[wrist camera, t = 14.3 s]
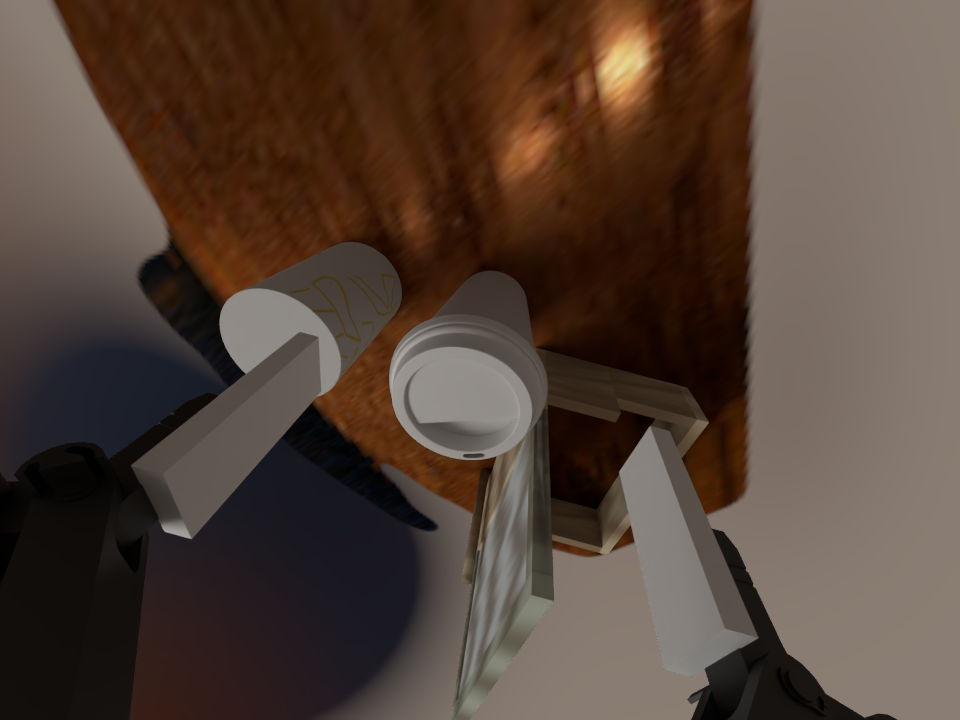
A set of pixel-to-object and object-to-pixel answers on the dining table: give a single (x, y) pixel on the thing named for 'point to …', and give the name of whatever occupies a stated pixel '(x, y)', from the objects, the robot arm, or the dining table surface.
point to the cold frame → (547, 515)
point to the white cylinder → (315, 309)
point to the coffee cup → (471, 372)
